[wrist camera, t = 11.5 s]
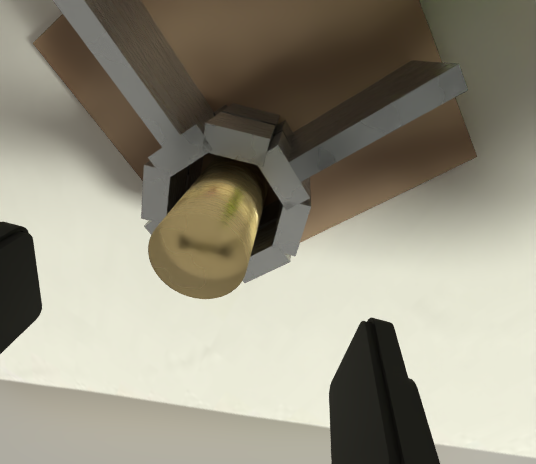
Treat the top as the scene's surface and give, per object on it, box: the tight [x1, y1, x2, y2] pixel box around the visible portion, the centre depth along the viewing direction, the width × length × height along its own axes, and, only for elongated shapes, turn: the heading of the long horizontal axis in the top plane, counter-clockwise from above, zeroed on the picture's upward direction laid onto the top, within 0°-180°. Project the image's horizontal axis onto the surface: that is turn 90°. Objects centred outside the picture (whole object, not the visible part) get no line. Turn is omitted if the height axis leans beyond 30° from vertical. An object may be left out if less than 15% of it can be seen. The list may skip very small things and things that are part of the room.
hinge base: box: [33, 0, 477, 242], centre depth 19 cm, size 18×18×1 cm
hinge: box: [53, 0, 468, 283], centre depth 16 cm, size 15×15×6 cm
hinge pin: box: [148, 155, 269, 299], centre depth 17 cm, size 4×4×10 cm
